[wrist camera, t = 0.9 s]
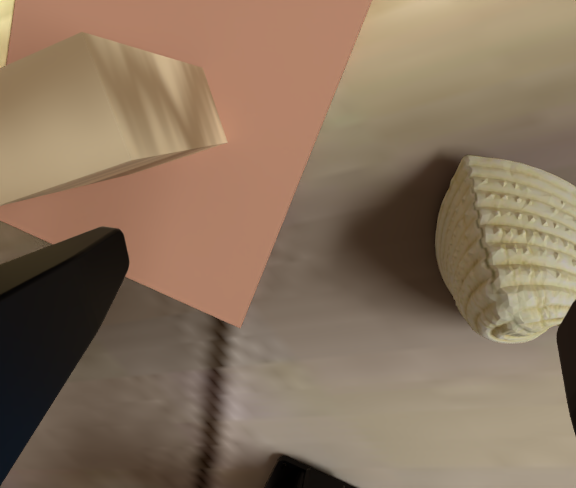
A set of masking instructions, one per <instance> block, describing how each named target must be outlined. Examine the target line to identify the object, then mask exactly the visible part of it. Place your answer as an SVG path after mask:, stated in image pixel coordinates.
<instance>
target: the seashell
mask: <svg viewBox="0 0 576 488" xmlns="http://www.w3.org/2000/svg"><path fill="white" fill-rule="evenodd" d="M435 249H436V258H437V263H438V267H439V270H440V273H441V276H442V278H443V281H444V282H445V284H446V286H447V288H448V289H449V291H450V293H451V294H452V296H453V299H454V300H455V301H456V306H458V311H459V312H461V315H462V316H463V317H464V319H465V320H466V321H467V322H468V324H469V325H470V326H471V328H472V330H474V331H475V332H476V333H477V334H479V335H481V336H482V337H484V338H486V339H488V340H492V341H494V342H498V343H511V344H516V343H524V342H527V341H530V340H533V339H535V338H537V337H538V336H539V335H541V334H542V333H544V332H546V331H547V330H548V329H549V328H550V327H553V326H556V325H557V326H560V324H561V322H562V321H563V319H564V317H565V315H566V314H567V312H568V310H569V308H570V307H571V305H572V303H573V302H574V301H575V300H576V187H575V186H574V185H572V184H570V183H569V182H567V181H565V180H563V179H561V178H559V177H557V176H555V175H553V174H550V173H548V172H546V171H543V170H541V169H538V168H535V167H531V166H528V165H526V164H523V163H518V162H513V161H509V160H503V159H498V158H487V157H480V156H473V155H466V156H464V157H463V158H462V160H461V162H460V164H459V166H458V168H457V171H456V173H455V175H454V176H453V178H452V179H451V182H450V187H449V189H448V191H447V193H446V195H445V197H444V199H443V201H442V204H441V208H440V211H439V214H438V220H437V229H436V235H435Z"/></svg>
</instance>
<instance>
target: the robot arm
mask: <svg viewBox="0 0 576 488" xmlns="http://www.w3.org/2000/svg"><path fill="white" fill-rule="evenodd" d="M128 268H129V255H128V251H127V246H126V242H125V237H124V234H123V232H122V231H121V230H120V229H118V228H112V227H105V226H101V227H98V228H95V229H93V230H90V231H87V232H85V233H82V234H80V235H77V236H74V237H72V238H69V239H66V240H64V241H61V242H58V243H56V244H53V245H51V246H48V247H45V248H43V249H40V250H37V251H35V252H32V253H29V254H27V255H24V256H22V257H19V258H16V259H14V260H11V261H8V262H6V263H3V264H0V485H1V484H2V482H3V481H4V479H5V478H6V476H7V474H8V473H9V471H10V470H11V468H12V466H13V465H14V463H15V462H16V460H17V459H18V457H19V455H20V454H21V452H22V451H23V449H24V447H25V446H26V444H27V443H28V441H29V439H30V438H31V436H32V435H33V433H34V432H35V430H36V428H37V427H38V425H39V424H40V422H41V420H42V419H43V417H44V416H45V414H46V413H47V411H48V409H49V408H50V406H51V405H52V403H53V401H54V400H55V398H56V397H57V395H58V394H59V392H60V390H61V389H62V387H63V386H64V384H65V382H66V381H67V379H68V378H69V376H70V375H71V373H72V371H73V370H74V368H75V367H76V365H77V363H78V362H79V360H80V359H81V357H82V356H83V354H84V352H85V351H86V349H87V348H88V346H89V344H90V343H91V341H92V340H93V338H94V336H95V335H96V333H97V331H98V330H99V328H100V326H101V324H102V322H103V321H104V319H105V317H106V315H107V312H108V310H109V308H110V306H111V304H112V302H113V300H114V298H115V296H116V294H117V292H118V290H119V288H120V286H121V284H122V282H123V280H124V278H125V276H126V273H127V271H128ZM557 345H558V351H559V357H560V363H561V369H562V374H563V380H564V386H565V392H566V398H567V403H568V408H569V413H570V417H571V421H572V425H573V428H574V432H575V435H576V300H575V301H574V302H573V303H572V305H571V307H570V308H569V310H568V312H567V314H566V315H565V317H564V319H563V321H562V322H561V324H560V326H559V328H558V331H557ZM283 463H284V464H286V465H284V464H283ZM264 488H354V487H352V486H350V485H348V484H345V483H343V482H341V481H339V480H337V479H335V478H332V477H330V476H328V475H326V474H324V473H322V472H320V471H317V470H315V469H313V468H311V467H309V466H307V465H304V464H302V463H300V462H298V461H296V460H294V459H291V458H289V457H287V456H281V457H279V459H278V460H277V462H276V464H275V466H274V468H273V470H272V472H271V474H270V476H269V478H268V480H267V482H266V484H265V486H264Z"/></svg>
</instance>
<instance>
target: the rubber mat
mask: <svg viewBox="0 0 576 488" xmlns="http://www.w3.org/2000/svg"><path fill="white" fill-rule="evenodd" d="M371 2H372V0H15V7H14V14H13V21H12V28H11V35H10V43H9V50H8V57H7V64H6V65H8V64H11V63H13V62H15V61H17V60H20V59H22V58H24V57H26V56H29V55H31V54H33V53H35V52H38V51H40V50H42V49H44V48H47V47H49V46H51V45H53V44H56V43H58V42H60V41H62V40H65V39H67V38H69V37H71V36H74V35H76V34H78V33H80V32H85V33H88V34H91V35H95V36H98V37H101V38H105V39H108V40H111V41H115V42H118V43H121V44H125V45H128V46H131V47H135V48H138V49H142V50H145V51H148V52H152V53H155V54H158V55H162V56H165V57H168V58H172V59H175V60H178V61H182V62H185V63H188V64H192V65H195V66H198V67H202V68H203V70H204V73H205V76H206V79H207V82H208V85H209V88H210V91H211V94H212V97H213V100H214V103H215V106H216V109H217V112H218V115H219V118H220V121H221V124H222V127H223V130H224V133H225V136H226V139H227V142H228V143H225V144H222V145H219V146H216V147H213V148H210V149H207V150H204V151H201V152H198V153H195V154H192V155H189V156H186V157H182V158H179V159H176V160H173V161H170V162H167V163H164V164H161V165H158V166H155V167H152V168H149V169H146V170H143V171H140V172H137V173H134V174H130V175H126V176H122V177H118V178H113V179H109V180H105V181H101V182H97V183H93V184H89V185H84V186H80V187H76V188H72V189H68V190H64V191H60V192H56V193H51V194H47V195H43V196H39V197H35V198H31V199H27V200H23V201H18V202H14V203H10V204H6V205H2V206H0V221H2V222H5V223H7V224H9V225H11V226H14V227H16V228H18V229H20V230H22V231H25V232H27V233H29V234H31V235H34V236H36V237H38V238H40V239H42V240H45V241H47V242H49V243H51V244H56V243H58V242H61V241H64V240H66V239H69V238H72V237H74V236H77V235H80V234H82V233H85V232H87V231H90V230H93V229H95V228H98V227H101V226H105V227H112V228H118V229H120V230H121V231H122V232H123V234H124V237H125V242H126V246H127V251H128V255H129V268H128V271H127V273H126V276H125V277H127V278H129V279H132V280H134V281H136V282H138V283H140V284H143V285H145V286H147V287H149V288H152V289H154V290H156V291H158V292H161V293H163V294H165V295H167V296H169V297H172V298H174V299H176V300H178V301H181V302H183V303H185V304H187V305H189V306H192V307H194V308H196V309H198V310H201V311H203V312H205V313H207V314H209V315H212V316H214V317H216V318H218V319H221V320H223V321H225V322H227V323H230V324H232V325H234V326H236V327H238V328H240V327H241V326H242V323H243V321H244V318H245V316H246V313H247V311H248V308H249V306H250V303H251V301H252V298H253V296H254V293H255V291H256V288H257V286H258V283H259V281H260V278H261V276H262V274H263V271H264V269H265V266H266V264H267V261H268V259H269V256H270V254H271V251H272V249H273V246H274V244H275V241H276V239H277V236H278V234H279V231H280V229H281V226H282V224H283V221H284V219H285V216H286V214H287V211H288V209H289V206H290V204H291V201H292V199H293V196H294V194H295V191H296V189H297V186H298V184H299V181H300V179H301V176H302V174H303V171H304V169H305V166H306V164H307V161H308V159H309V156H310V154H311V151H312V149H313V146H314V144H315V141H316V139H317V136H318V134H319V131H320V129H321V126H322V124H323V121H324V119H325V116H326V114H327V111H328V109H329V107H330V104H331V102H332V99H333V97H334V94H335V92H336V89H337V87H338V84H339V82H340V79H341V77H342V74H343V72H344V69H345V67H346V64H347V62H348V59H349V57H350V54H351V52H352V49H353V47H354V44H355V42H356V39H357V37H358V34H359V32H360V29H361V27H362V24H363V22H364V19H365V17H366V14H367V12H368V9H369V7H370V4H371Z"/></svg>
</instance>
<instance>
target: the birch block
mask: <svg viewBox="0 0 576 488" xmlns="http://www.w3.org/2000/svg"><path fill="white" fill-rule="evenodd" d="M225 143H228V142H227V139H226V136H225V133H224V130H223V127H222V124H221V121H220V118H219V115H218V112H217V109H216V106H215V103H214V100H213V97H212V94H211V91H210V88H209V85H208V82H207V79H206V76H205V73H204V70H203V68H202V67H198V66H195V65H192V64H188V63H185V62H182V61H178V60H175V59H172V58H168V57H165V56H162V55H158V54H155V53H152V52H148V51H145V50H142V49H138V48H135V47H131V46H128V45H125V44H121V43H118V42H115V41H111V40H108V39H105V38H101V37H98V36H95V35H91V34H88V33H85V32H80V33H78V34H76V35H74V36H71V37H69V38H67V39H65V40H62V41H60V42H58V43H56V44H53V45H51V46H49V47H47V48H44V49H42V50H40V51H38V52H35V53H33V54H31V55H29V56H26V57H24V58H22V59H20V60H17V61H15V62H13V63H11V64H8V65H6V66H4V67H2V68H0V206H2V205H6V204H10V203H14V202H18V201H23V200H27V199H31V198H35V197H39V196H43V195H47V194H51V193H56V192H60V191H64V190H68V189H72V188H76V187H80V186H84V185H89V184H93V183H97V182H101V181H105V180H109V179H113V178H118V177H122V176H126V175H130V174H134V173H137V172H140V171H143V170H146V169H149V168H152V167H155V166H158V165H161V164H164V163H167V162H170V161H173V160H176V159H179V158H182V157H186V156H189V155H192V154H195V153H198V152H201V151H204V150H207V149H210V148H213V147H216V146H219V145H222V144H225Z"/></svg>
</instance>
